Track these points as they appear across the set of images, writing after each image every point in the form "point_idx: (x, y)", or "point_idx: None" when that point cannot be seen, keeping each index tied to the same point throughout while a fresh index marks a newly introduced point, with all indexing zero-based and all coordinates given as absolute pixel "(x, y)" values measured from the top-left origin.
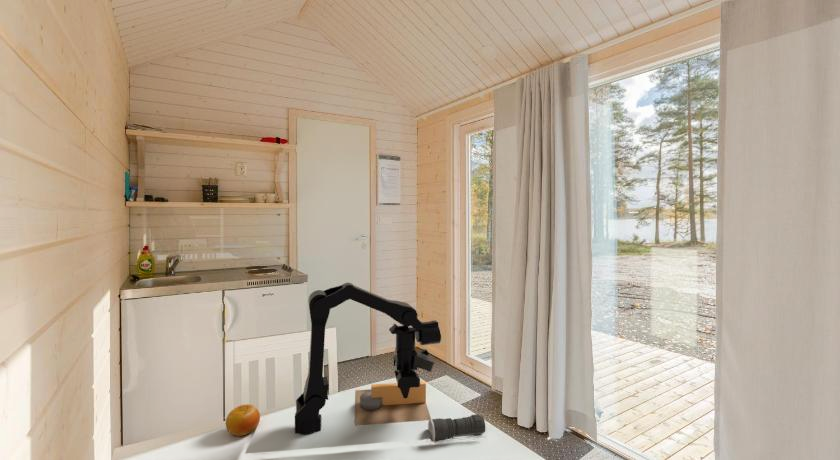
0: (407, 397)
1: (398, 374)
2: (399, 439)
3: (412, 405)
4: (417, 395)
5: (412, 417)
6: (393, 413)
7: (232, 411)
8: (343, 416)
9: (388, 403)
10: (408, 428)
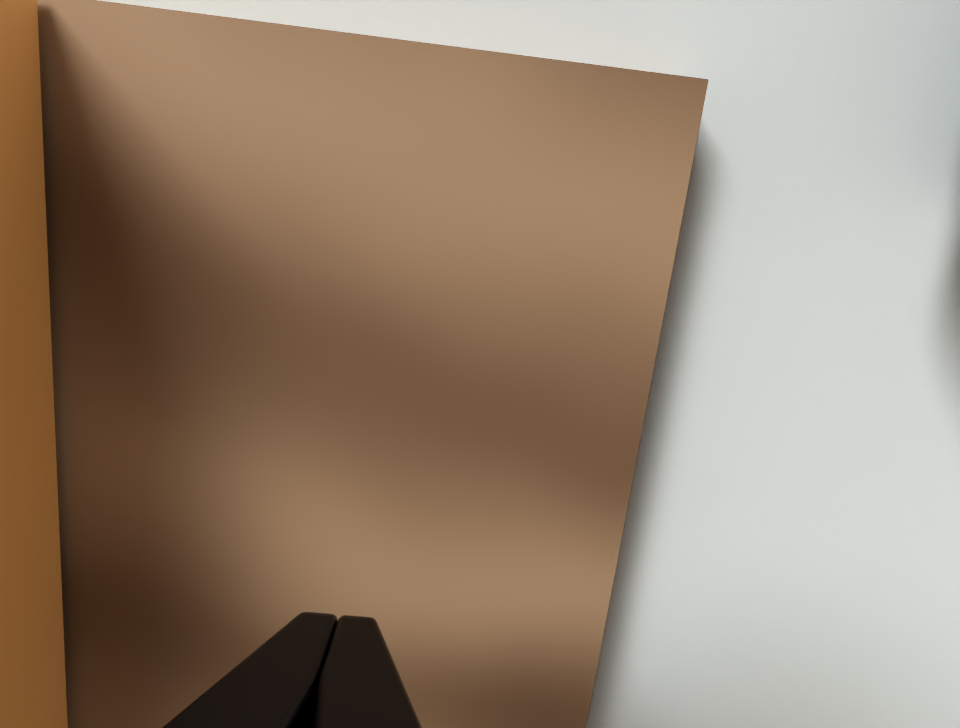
0: (376, 621)
1: None
2: (868, 608)
3: (117, 292)
4: None
5: (536, 389)
6: None
7: None
8: None
9: (50, 693)
10: (664, 452)
